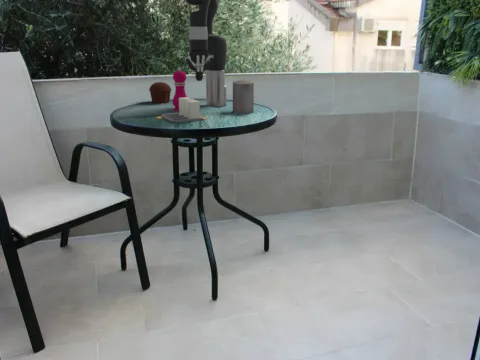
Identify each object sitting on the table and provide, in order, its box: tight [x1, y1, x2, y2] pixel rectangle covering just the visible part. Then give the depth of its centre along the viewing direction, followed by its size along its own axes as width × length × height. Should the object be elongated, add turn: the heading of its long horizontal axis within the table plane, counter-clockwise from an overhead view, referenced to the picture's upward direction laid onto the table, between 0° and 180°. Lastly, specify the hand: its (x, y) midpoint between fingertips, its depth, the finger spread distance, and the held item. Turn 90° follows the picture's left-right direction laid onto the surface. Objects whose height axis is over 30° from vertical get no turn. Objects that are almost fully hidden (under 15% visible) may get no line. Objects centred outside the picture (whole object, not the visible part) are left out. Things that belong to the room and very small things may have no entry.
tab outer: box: [187, 99, 201, 119], centre depth 189 cm, size 4×3×8 cm
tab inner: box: [178, 96, 191, 115], centre depth 197 cm, size 4×3×8 cm
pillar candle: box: [232, 78, 255, 115], centre depth 211 cm, size 10×10×15 cm
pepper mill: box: [172, 66, 188, 112], centre depth 208 cm, size 7×7×20 cm
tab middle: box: [183, 98, 195, 117], centre depth 193 cm, size 4×3×8 cm
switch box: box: [153, 112, 210, 124], centre depth 193 cm, size 20×15×2 cm
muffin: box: [148, 81, 172, 104], centre depth 235 cm, size 12×11×10 cm
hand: (199, 80), depth 197 cm, fingers closed
